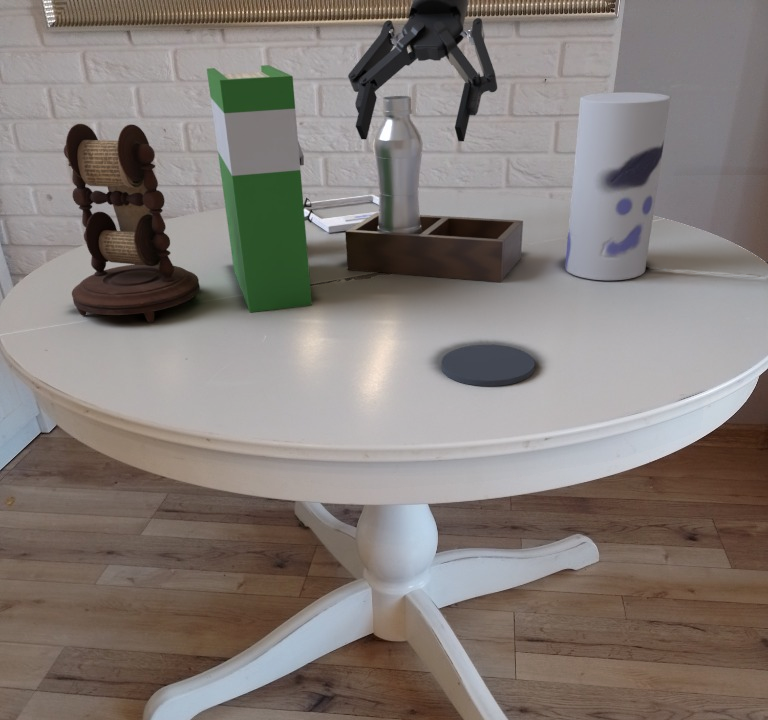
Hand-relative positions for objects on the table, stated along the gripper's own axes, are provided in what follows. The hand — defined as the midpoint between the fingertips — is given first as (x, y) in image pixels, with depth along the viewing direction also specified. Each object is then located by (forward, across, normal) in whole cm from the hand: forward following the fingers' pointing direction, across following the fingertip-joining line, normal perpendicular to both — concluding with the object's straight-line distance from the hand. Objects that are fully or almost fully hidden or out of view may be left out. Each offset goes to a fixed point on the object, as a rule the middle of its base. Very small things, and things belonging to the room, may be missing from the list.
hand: (409, 133), depth 104 cm
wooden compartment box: (+14, -5, -7) cm, 17 cm away
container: (+13, -27, -9) cm, 31 cm away
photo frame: (-2, +16, -24) cm, 29 cm away
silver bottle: (+14, 0, -7) cm, 16 cm away
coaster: (+37, -20, +16) cm, 45 cm away
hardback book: (+25, +12, +3) cm, 28 cm away
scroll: (+32, +25, +11) cm, 42 cm away
